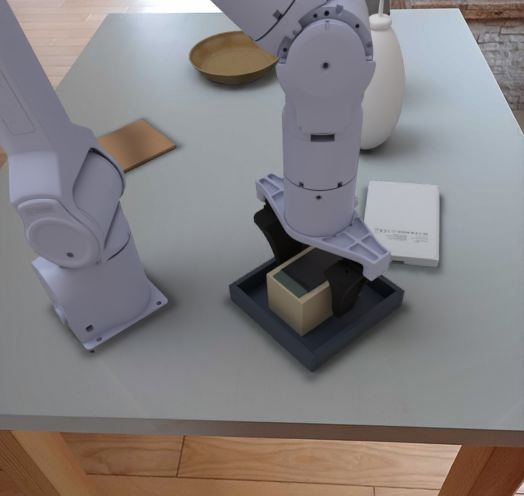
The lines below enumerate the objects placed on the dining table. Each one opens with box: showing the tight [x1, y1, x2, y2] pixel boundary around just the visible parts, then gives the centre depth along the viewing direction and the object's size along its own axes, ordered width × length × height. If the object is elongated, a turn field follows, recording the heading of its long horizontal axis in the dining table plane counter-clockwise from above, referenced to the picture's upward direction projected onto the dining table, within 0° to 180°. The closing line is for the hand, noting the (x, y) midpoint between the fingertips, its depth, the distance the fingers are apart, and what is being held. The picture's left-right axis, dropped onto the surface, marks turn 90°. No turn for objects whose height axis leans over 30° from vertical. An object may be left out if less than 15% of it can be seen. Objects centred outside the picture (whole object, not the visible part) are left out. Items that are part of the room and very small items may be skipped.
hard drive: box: [363, 180, 440, 268], centre depth 58 cm, size 2×8×12 cm
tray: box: [228, 243, 406, 373], centre depth 52 cm, size 12×12×2 cm
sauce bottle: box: [360, 0, 406, 150], centre depth 62 cm, size 8×8×18 cm
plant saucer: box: [188, 30, 279, 85], centre depth 82 cm, size 15×15×3 cm
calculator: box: [267, 246, 361, 336], centre depth 51 cm, size 8×5×5 cm, turn 130°
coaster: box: [96, 118, 177, 173], centre depth 72 cm, size 9×9×1 cm
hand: (315, 288), depth 51 cm, fingers open, 7 cm apart
